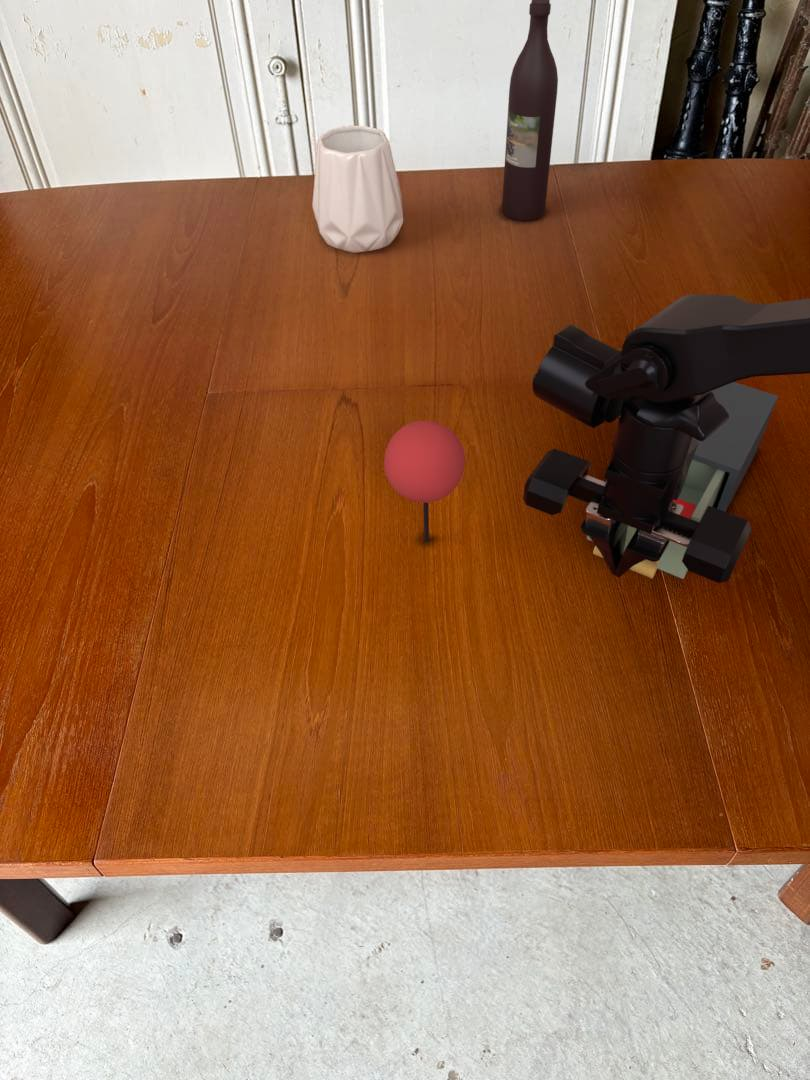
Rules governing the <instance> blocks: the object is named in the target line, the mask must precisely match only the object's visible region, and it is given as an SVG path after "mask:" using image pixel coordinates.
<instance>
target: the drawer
mask: <svg viewBox="0 0 810 1080" xmlns="http://www.w3.org/2000/svg"><path fill="white" fill-rule="evenodd" d="M726 474H727V472H726V471H723V470H720V469H717V468H714V467H711V466H709V465H706V464H703V463H700V462H697V461H695V460H692V462H691V465H690V467H689V470H688V474H687V476H686V480H685V483H684V486H683V489H682V492H681V494H680V496H679V498H678V499H681V500H683V501H686V502H689V503H691V504H694V505H697V507H696V509H695V511H694V512H693V514H692V516H691V519H692V520H695V521H697V522H700V520H701V519H702V517H703V515H704V513H705V511H706V509H707V507H708V506H711V507H713V506H714V504H715V502H716V500H717V498H718V496H719V493H720V490H721V488H722V485H723V482H724V479H725V477H726ZM636 530H637V529H636V528H633V527H631V526H628V527H627V534H626V542H625V549H626V547H627V545H628V543H629V542H630V540H631V538H632V537H633V535H634V533H635V532H636ZM586 540H588V541H591V542H592V543H594V542H593V541H592V540H591V538H590V537H589V536H588V535H586ZM594 545H595V544H594ZM625 549H624V551H625ZM686 549H687V547H685V546H682V545H680V544H677V543H675V542H672V541H670V542H669V544H668V546H667V547H666V549H665V551H664V553H663V555H662V557H661V558H660V560H659V561H657V562H652V561H649V560H644V561H642V562H640V563H638V564H636V565H634V566H632V567H631V568H630V569H629V570H630V571H633V572H635V573H638V574H640V575H642V576H644V577H647V578H649V579H653V578H654V577H655V575H656V573H657V570H660V571H662V572H665V573H667V574H670V575H671V576H674V577H677V578H679V579H682V580H684V579H685V577H686V575H687V573H688V572H689V571H688V569H687V568H686V566H685V565H684V564H683V562H682V559H683V556H684V553H685V551H686ZM592 554H593V556H597V557H599V558H602V559H604V558H603V556H602V554H601V553H600V551H599V550H598V548H597V547H596V545H595V546H594V548H593V551H592Z"/></svg>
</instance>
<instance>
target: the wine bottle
mask: <svg viewBox="0 0 810 1080" xmlns="http://www.w3.org/2000/svg"><path fill="white" fill-rule="evenodd" d="M550 1H551V0H531V1H530V2H531V3H530V4H529V8H528V10H529V11H528V14H529V29H528V34H527V38H526V41H525V43H524V45H523V48H522V49H521V51H520V53H519V54H518V57H517V58H516V61H515V63H514V65H513V67H512V70H511V76H510V82H509V89H508V105H507V121H506V135H505V136H506V137H505V153H504V168H503V169H504V170H503V185H502V198H501V199H502V200H501V211H502V213H503V215H504V216H506V217H507V218H509V219H511V220H515V221H522V222H523V221H533V220H536V219H539V218H540V217H542V216H543V215H544V213H545V211H546V204H547V195H548V186H549V176H550V175H549V174H550V165H551V157H552V148H553V147H552V146H553V138H554V137H553V135H554V129H555V128H554V127H555V126H554V125H555V119H556V118H555V117H556V107H557V99H558V98H557V97H558V87H559V76H558V67H557V64H556V61H555V57H554V54H553V52H552V50H551V47H550V43H549V40H548V39H549V37H548V23H549V16H550V14H551V7H552V4H551V2H550Z"/></svg>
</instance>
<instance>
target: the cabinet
mask: <svg viewBox="0 0 810 1080" xmlns="http://www.w3.org/2000/svg"><path fill="white" fill-rule="evenodd" d="M710 392H713V393H714V395H715V398H716V400H717V401H718V402H719V403H720V404H722V405H723V406H724V408H725V409H726V411H727V412H728V414H729V419H728V420H727V421H726V422H725V423H724V424H723V425H721V426H720V427H719V428H718V429H717V430H716V431H715V432H713V433H712V434H711V435H710V436H709V437H708V438H706V439H705V440H704V441H699V440H697V439H696V440H697V441H698V442H699V443H698V446H697V449H696V451H695V454H694V457H693V459H692V460H695V461H697V462H700V463H703V464H706V465H709V466H711V467H714V468H717V469H720V470H723V471H726V472H727V474H726V477H725V479H724V482H723V485H722V488H721V490H720V493H719V496H718V498H717V500H716V502H715V504H714V506H713V507H714V508H717V509H719V510H722V511H725V512H727V511H728V508H729V506H730V505H731V502H732V500H733V499H734V497H735V495H736V493H737V491H738V489H739V487H740V485H741V484H742V481H743V480H744V477H745V475H746V474H747V471H748V470H749V467H750V466H751V463H752V462H753V459H754V458H755V456H756V454H757V452H758V449H759V447H760V444H761V442H762V440H763V436H764V434H765V432H766V429H767V427H768V425H769V421H770V419H771V417H772V414H773V412H774V409H775V407H776V404H777V401H778V399H779V395H776V394H773V393H771V392H768V391H765V390H764V391H763V390H761V389H758V388H754V387H751V386H747V385H745V384H741V383H737V382H736V381H735V382H732V383H730V384H727V385H725V386H722V387H720V388H717V389H715V390H712V391H710ZM692 438H693V437H692ZM694 439H695V438H694Z"/></svg>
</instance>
